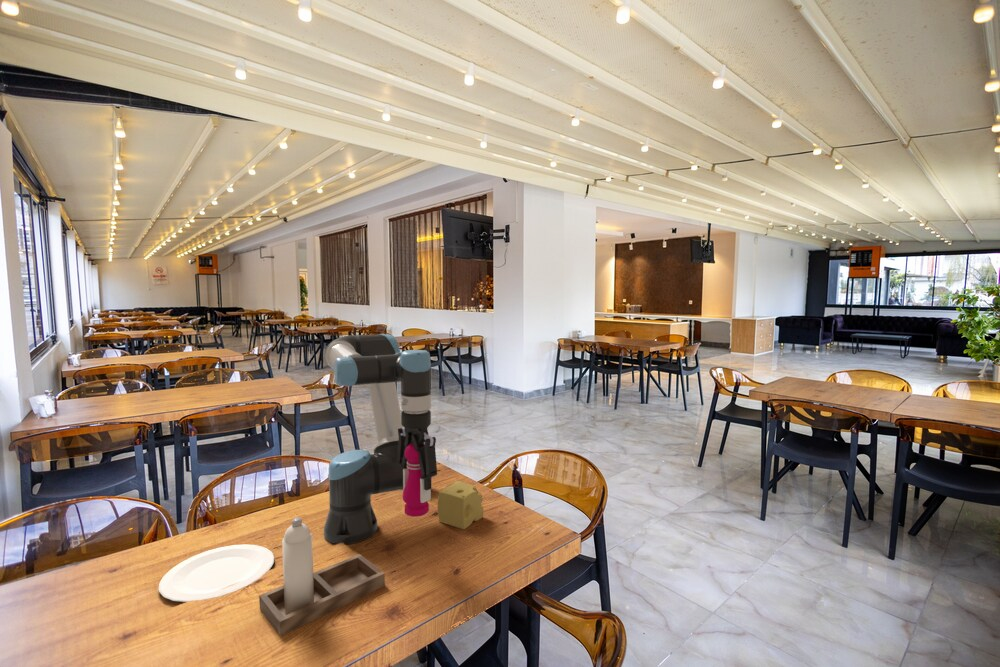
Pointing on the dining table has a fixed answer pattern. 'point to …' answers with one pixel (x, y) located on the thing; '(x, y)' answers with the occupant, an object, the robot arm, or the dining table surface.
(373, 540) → the dining table surface
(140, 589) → the dining table surface
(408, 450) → the pepper mill
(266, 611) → the wooden compartment tray
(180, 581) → the plate
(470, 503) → the cheese
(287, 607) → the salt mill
